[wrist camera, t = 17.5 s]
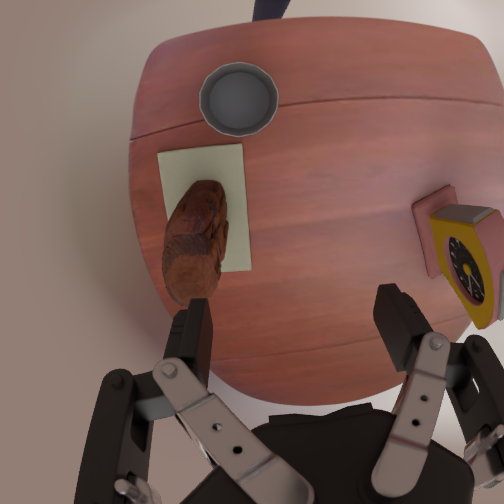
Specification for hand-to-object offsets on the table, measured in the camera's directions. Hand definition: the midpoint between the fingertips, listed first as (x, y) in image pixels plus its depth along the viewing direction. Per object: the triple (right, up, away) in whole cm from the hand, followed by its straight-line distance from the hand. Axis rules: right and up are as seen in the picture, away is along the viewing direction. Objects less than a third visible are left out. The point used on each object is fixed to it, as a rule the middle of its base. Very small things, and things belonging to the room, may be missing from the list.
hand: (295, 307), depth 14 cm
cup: (-4, +23, +24) cm, 33 cm away
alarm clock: (+33, +6, +34) cm, 48 cm away
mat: (-9, +8, +31) cm, 34 cm away
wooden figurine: (-9, +8, +31) cm, 33 cm away
